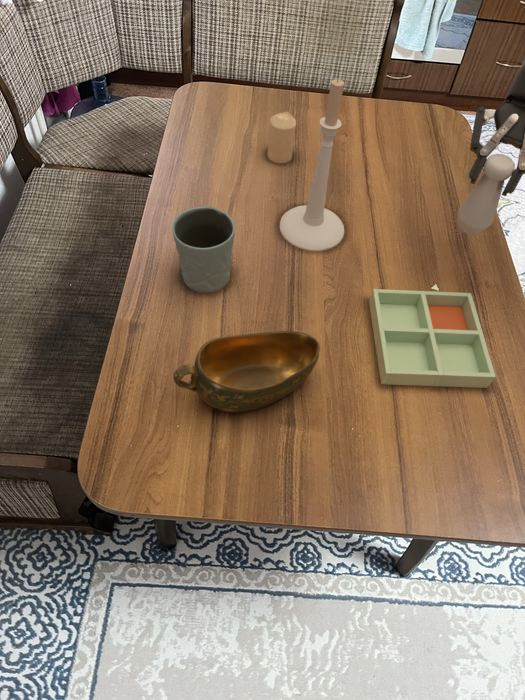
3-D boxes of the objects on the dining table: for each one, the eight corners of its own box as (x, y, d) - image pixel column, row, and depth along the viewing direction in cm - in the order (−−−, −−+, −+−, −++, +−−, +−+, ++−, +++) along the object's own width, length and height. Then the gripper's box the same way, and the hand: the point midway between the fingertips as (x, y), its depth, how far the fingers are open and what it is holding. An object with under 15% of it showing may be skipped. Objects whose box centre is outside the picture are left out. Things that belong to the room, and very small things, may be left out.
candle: (277, 146, 120) (281, 104, 112) (296, 156, 119) (302, 114, 110) (262, 157, 118) (265, 114, 110) (281, 167, 116) (286, 125, 108)
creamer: (194, 345, 88) (190, 305, 79) (314, 364, 87) (323, 326, 79) (175, 413, 80) (169, 377, 72) (306, 434, 79) (316, 401, 71)
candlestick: (334, 259, 101) (370, 110, 76) (270, 241, 103) (285, 90, 78) (350, 217, 108) (387, 69, 84) (290, 201, 110) (309, 51, 85)
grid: (463, 306, 96) (471, 292, 93) (486, 388, 86) (496, 377, 83) (368, 302, 95) (373, 288, 92) (380, 385, 85) (386, 373, 82)
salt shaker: (485, 217, 91) (519, 150, 80) (489, 240, 88) (526, 173, 77) (451, 213, 91) (480, 146, 80) (454, 236, 88) (485, 169, 77)
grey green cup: (240, 264, 99) (242, 213, 89) (223, 304, 93) (223, 254, 83) (189, 251, 100) (185, 200, 90) (169, 290, 94) (162, 239, 84)
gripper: (500, 49, 76) (443, 166, 79) (603, 81, 72) (538, 201, 76) (495, 71, 83) (443, 177, 86) (588, 101, 79) (530, 210, 83)
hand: (488, 188), depth 81 cm, fingers closed on salt shaker, 4 cm apart
